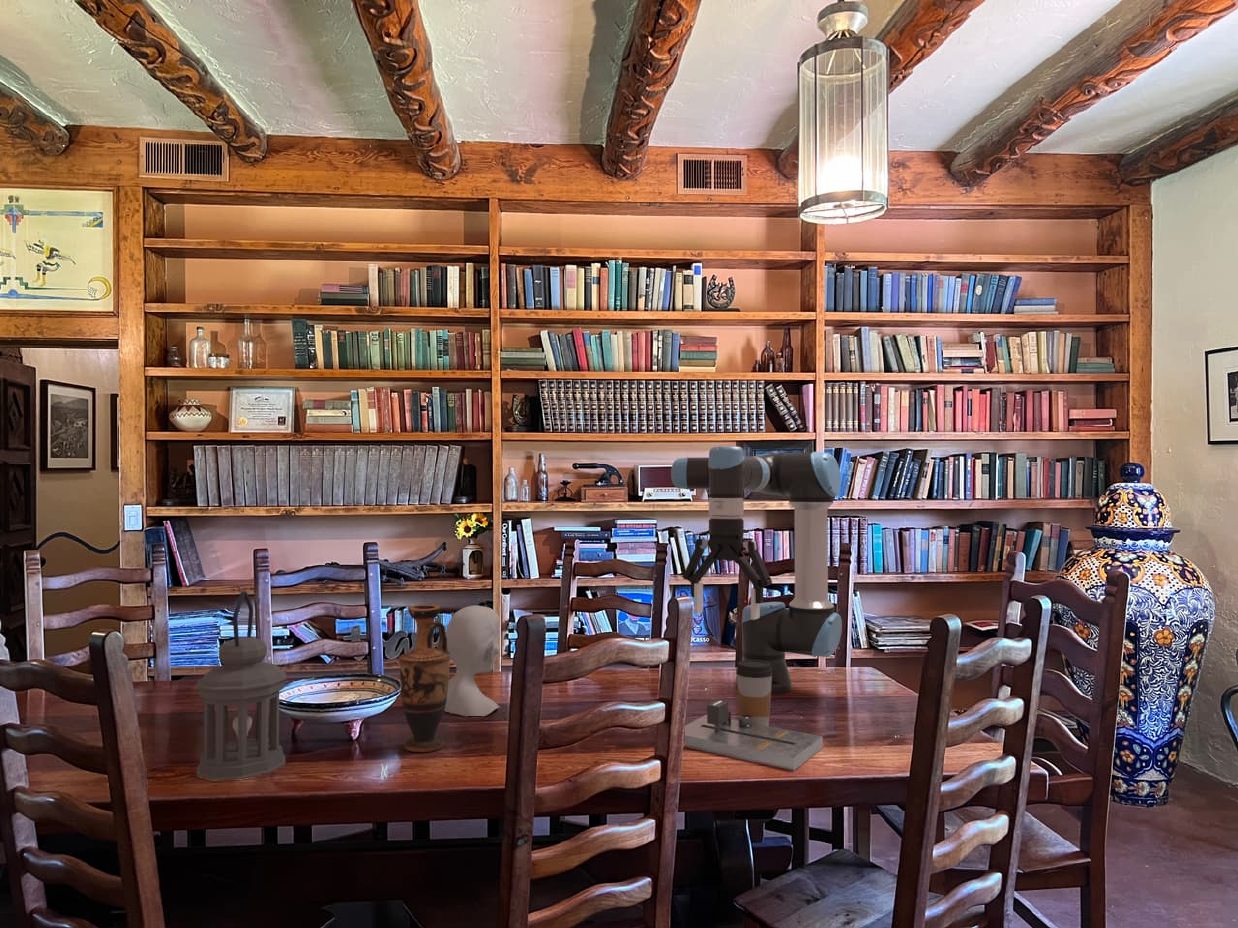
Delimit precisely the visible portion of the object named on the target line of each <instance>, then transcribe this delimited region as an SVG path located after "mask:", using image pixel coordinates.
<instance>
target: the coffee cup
mask: <svg viewBox="0 0 1238 928" xmlns="http://www.w3.org/2000/svg"><path fill="white" fill-rule="evenodd" d="M735 673H736V677H737V680H738V688H737V697H738V698H737V699H738V712H739V715H750V716H751V723H754V724H759V725H765V726H769V724H770V714H771V702H772V701H771V700H772V699H771V697H772V694H771V680H772V675H773V673H772V668H771V666H770V663H768V662H765V661H760V660H744V661H742V660H741V661H739V662H738V663H737V667H736V672H735ZM739 715H738V716H739Z"/></svg>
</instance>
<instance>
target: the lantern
mask: <svg viewBox="0 0 1238 928" xmlns="http://www.w3.org/2000/svg"><path fill="white" fill-rule="evenodd" d="M243 600H244V601H245V602H246V606H247V608H248V618H247V619H248V622H247V633H246V634H247V635H246V636H245V637H240V636H239V621H238V618H239V613H240V611H241V610H240V609H241V607H242V603H243ZM253 617H254V606H253V604H252V601H251V599H250V597H249V595H248V592H247V591H245V590H243V591H241V592H240V593H239V596H238V600H237V603H236V605H235V608H234V611H233V615H232V624H233V625H232V626H233V638H234V639H230V640H228V641H225V642H223V643H222V644H221V646H220V647H219V649H218V659H219V661H220V662H221V663H222V664H223V665H220V666H218V667H214V668H212V669H211V670H209V671H207V672H205V673H204V675H203V677H202V678H198V679H197V682H196V683H197V684H196V688H197V689H199V697H200V698H202V699H204V719H203V720H204V726H203V727H204V729H203V731H204V734H203V735H204V738H203V740H204V741H203V742H204V743H203V745H204V746H203V754H202V755H200V759H199V764H198V766H197V767H196V768H197V769H196V775H197V776H201V777H204V778H208V779H211V780H234V779H235V780H236V779H245V778H250V777H254V776H258V775H262V774H266V773H270V772H272V771H274V770H275V769H277V768H279V767H280V768H282V767H283V766H285V765H286V764H287V763H286V755H285V753H284V752H283V745H281V744H280V691H281V690H283V689H285V680H287V679H288V677H287V672H286V671H285V670H281V668H280V666H278V665H276V664H274V663H271V662H264V661H263V660H265V658H266V656H267V654H268V650H267V649H268V645H267V643H266V642H265V641H264V640H263V639H261V638H255V637H252V632H253V631H252V630H253V621H254V620H253ZM250 704H256V709H257V710H256V738H249V739H248V736H249V735H248V733H249V731H250V729H252V728H251V727H252V724H253V719H252V717H251V716H250V715H248V705H250ZM230 706H238V707H237V711H238V712H237V716H235V718H234V719H233V721H232V728H233V730H234V732H235V734H236V738H237V740H234V741H230V742H229V741H228V712H229V711H228V709H229V708H228V707H230ZM280 768H279V769H280ZM277 770H278V769H277ZM275 771H276V770H275ZM275 771H274V772H275ZM272 773H273V772H272ZM270 774H271V773H270ZM262 776H263V775H262ZM258 777H259V776H258ZM254 778H255V777H254ZM250 779H251V778H250Z"/></svg>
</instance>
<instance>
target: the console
mask: <svg viewBox="0 0 1238 928" xmlns="http://www.w3.org/2000/svg"><path fill="white" fill-rule="evenodd" d="M684 726H685V747H684V748H688V749H691V750H692V749H693V750H698V751H702V752H706V753H710V754H711V753H712V754H716V755H721V756H725V757H730V758H734V759H740V760H744V761H749V762H752V763H757V764H762V765H766V766H770V767H771V766H772V767H775V768H780V769H786V770H790V771H796V770H797V769H798V768H800V767H801V766H802V765H803V764H804V763H806V762H807V761H809V760H810V759H811V758H812V757H813V756H815V754H817V753H818V752H819V751H821V750H822V749H823V745H824V744H823V741H824V740H823V736H822V735H818V734H817V735H816V734H813V733H807V732H806V733H805V732H802V731H796V730H792V729H785V728H782V727H781V728H780V727H774V726H771V725H770V726H765V725H759V724H754V723H751V716H750V715H738V719H732V712H731V711H728V721H726V722H724V723H722V724H721V731H720V730H715V729H714V724H708V723H707V714H705V715H703V716H700V717H699V718H696V719H695V720H693V721H692V722H689V723H687V724H685V725H684Z"/></svg>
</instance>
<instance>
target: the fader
mask: <svg viewBox="0 0 1238 928" xmlns="http://www.w3.org/2000/svg"><path fill="white" fill-rule="evenodd" d="M706 708H707V709H706V710H707V711H706V712H707V713H706V715H707V723H708V724H714V729H715V730H720V731H721V724H722V723H724V722H726V721H728V712H729V711H728V710H729V703H728V702H727V701H723V700H714V701H713V702H710V703H708V704H706Z"/></svg>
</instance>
